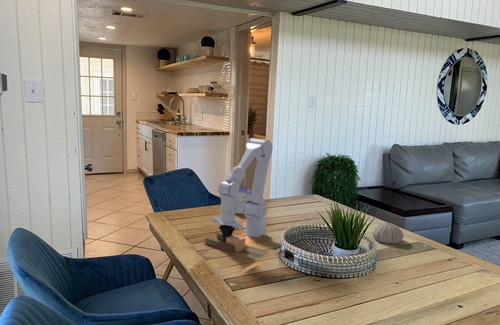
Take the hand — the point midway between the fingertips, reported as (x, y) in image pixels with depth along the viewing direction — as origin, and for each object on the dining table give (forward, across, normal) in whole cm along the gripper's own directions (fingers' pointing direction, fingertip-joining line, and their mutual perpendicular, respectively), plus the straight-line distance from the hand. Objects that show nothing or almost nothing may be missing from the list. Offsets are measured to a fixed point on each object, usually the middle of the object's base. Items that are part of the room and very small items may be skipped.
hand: (227, 242), depth 161 cm
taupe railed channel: (+2, +4, 0) cm, 5 cm away
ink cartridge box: (+3, -24, +43) cm, 49 cm away
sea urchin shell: (+3, +50, +54) cm, 74 cm away
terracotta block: (+1, +4, 0) cm, 5 cm away
